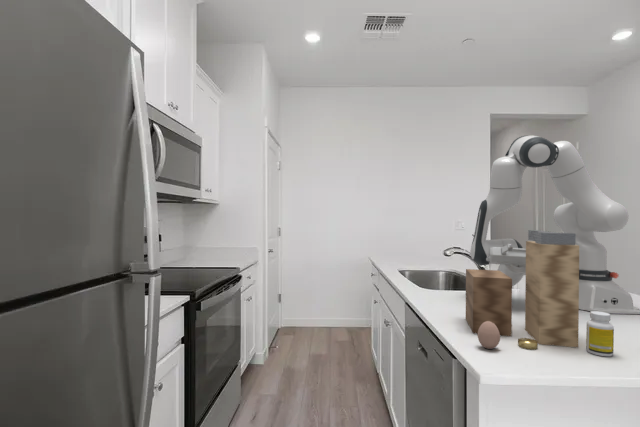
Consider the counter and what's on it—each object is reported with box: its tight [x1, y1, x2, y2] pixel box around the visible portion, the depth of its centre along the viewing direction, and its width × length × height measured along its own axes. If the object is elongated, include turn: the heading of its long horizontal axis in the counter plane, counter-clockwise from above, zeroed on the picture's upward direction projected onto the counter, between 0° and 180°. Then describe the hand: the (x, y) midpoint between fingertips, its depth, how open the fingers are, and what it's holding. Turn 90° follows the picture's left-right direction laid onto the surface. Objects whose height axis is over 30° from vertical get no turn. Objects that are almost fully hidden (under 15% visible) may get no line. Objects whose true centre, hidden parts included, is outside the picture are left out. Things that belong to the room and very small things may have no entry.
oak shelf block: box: [524, 240, 580, 348], centre depth 104 cm, size 9×13×26 cm
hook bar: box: [527, 229, 576, 245], centre depth 109 cm, size 21×8×3 cm, turn 166°
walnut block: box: [465, 268, 513, 337], centre depth 114 cm, size 10×16×16 cm, turn 166°
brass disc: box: [517, 337, 539, 351], centre depth 97 cm, size 4×4×2 cm
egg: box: [477, 321, 501, 350], centre depth 96 cm, size 5×5×7 cm
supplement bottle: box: [585, 311, 615, 357], centre depth 93 cm, size 5×5×10 cm
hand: (525, 246), depth 127 cm, fingers open, 8 cm apart
